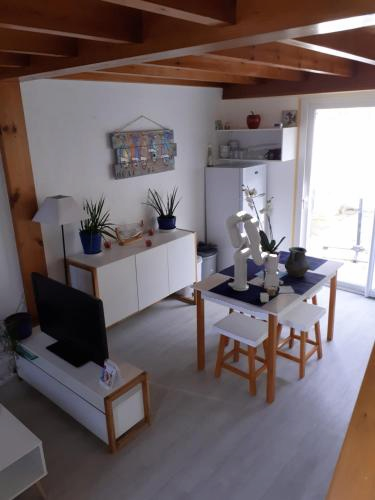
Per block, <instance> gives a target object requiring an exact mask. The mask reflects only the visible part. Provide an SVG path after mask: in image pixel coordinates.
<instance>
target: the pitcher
mask: <svg viewBox="0 0 375 500" xmlns="http://www.w3.org/2000/svg"><path fill="white" fill-rule="evenodd" d="M288 251H289V255H288V258H287V260H286V261H285V262H284V269H285V271H286V272H287V274H288V277H291V278H293V279H301V278H303V277H304V275H305V274H307V272H308V271H309V270H310V267H311V263H310V261H309V260H308V259H307V257H306V253H307V251H308V250H307V249H306V248H305V247H301V246H300V247H299V246H292V247H289V248H288Z"/></svg>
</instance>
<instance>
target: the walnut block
mask: <svg viewBox="0 0 375 500" xmlns="http://www.w3.org/2000/svg"><path fill="white" fill-rule="evenodd" d="M266 293H268V295H269V297H272V296H273V297H274V296H276V288H275V286H272V287H267V290H266Z"/></svg>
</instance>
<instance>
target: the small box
mask: <svg viewBox="0 0 375 500" xmlns="http://www.w3.org/2000/svg"><path fill="white" fill-rule="evenodd" d="M266 269H267V268H264V269H263V280H265V274H266V272H265V270H266ZM277 272H278V274H279V275H280V270H279V269H278V268H277ZM263 280H262V281H263Z"/></svg>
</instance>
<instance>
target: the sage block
mask: <svg viewBox="0 0 375 500" xmlns="http://www.w3.org/2000/svg"><path fill="white" fill-rule="evenodd" d="M259 295H260V297H259V299H260V302H261V303H269V302H270V301H269V299H270V298H269V297H270V296H269V295H268V293H267V292H266V293H265V292H260V293H259Z"/></svg>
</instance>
